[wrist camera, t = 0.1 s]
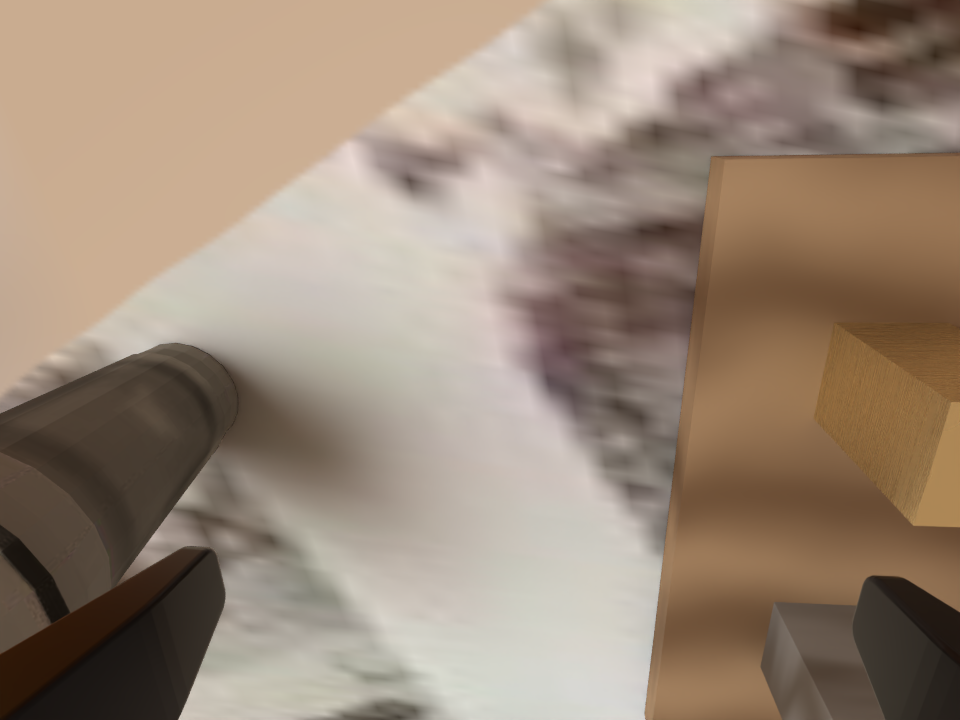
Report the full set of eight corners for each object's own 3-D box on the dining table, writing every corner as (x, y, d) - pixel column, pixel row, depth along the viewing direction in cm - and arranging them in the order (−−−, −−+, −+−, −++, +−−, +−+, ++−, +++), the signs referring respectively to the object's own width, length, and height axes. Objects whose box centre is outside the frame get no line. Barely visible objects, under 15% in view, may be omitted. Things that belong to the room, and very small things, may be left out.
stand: (901, 728, 28) (1020, 926, 21) (644, 713, 29) (679, 897, 22) (1106, 150, 19) (1447, 170, 12) (711, 156, 20) (809, 177, 13)
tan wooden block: (920, 420, 21) (1060, 530, 15) (813, 418, 21) (913, 525, 16) (948, 323, 20) (1114, 404, 14) (834, 322, 20) (951, 402, 14)
